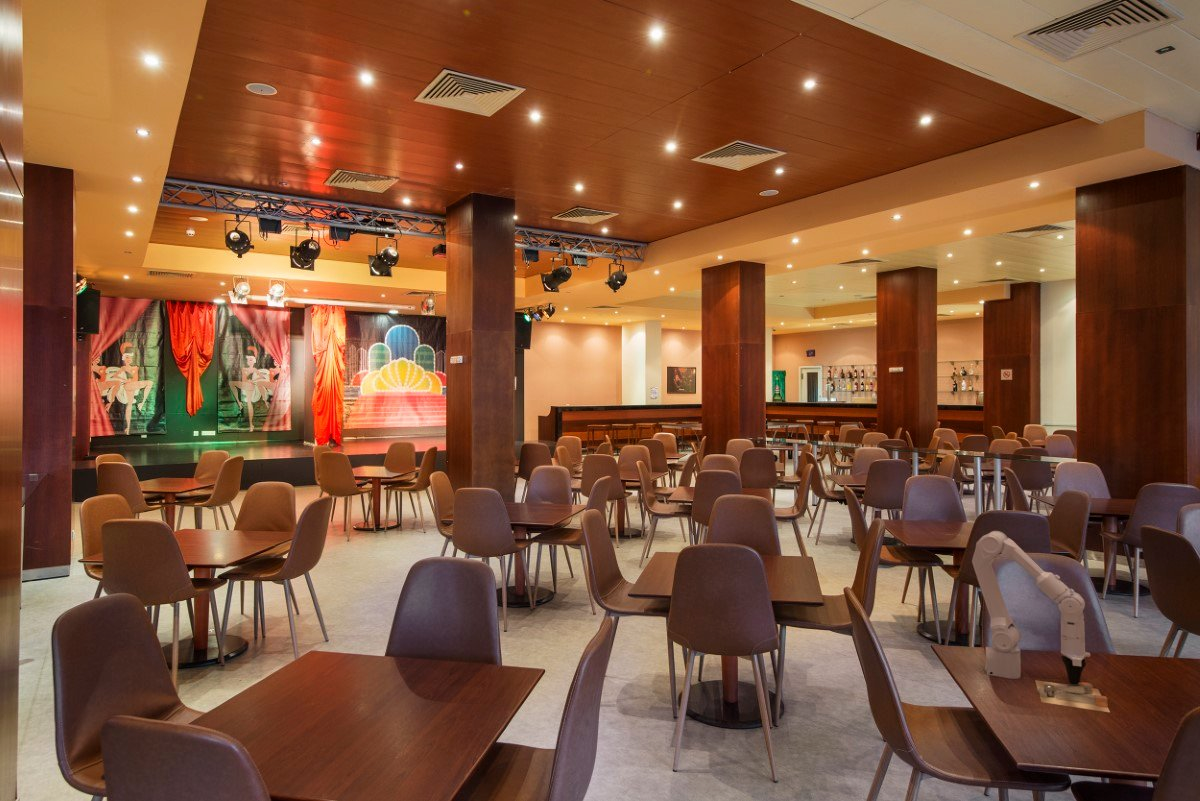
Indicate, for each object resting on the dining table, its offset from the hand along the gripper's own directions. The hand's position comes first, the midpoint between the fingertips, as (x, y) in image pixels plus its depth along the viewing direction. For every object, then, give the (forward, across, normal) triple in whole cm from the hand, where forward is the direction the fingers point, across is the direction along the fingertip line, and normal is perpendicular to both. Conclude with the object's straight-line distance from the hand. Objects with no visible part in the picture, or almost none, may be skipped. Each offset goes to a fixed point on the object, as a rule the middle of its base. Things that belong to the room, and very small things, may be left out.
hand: (1073, 683), depth 201 cm
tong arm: (+1, -5, +1) cm, 5 cm away
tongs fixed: (+1, -10, +2) cm, 10 cm away
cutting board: (+2, -7, +2) cm, 7 cm away
